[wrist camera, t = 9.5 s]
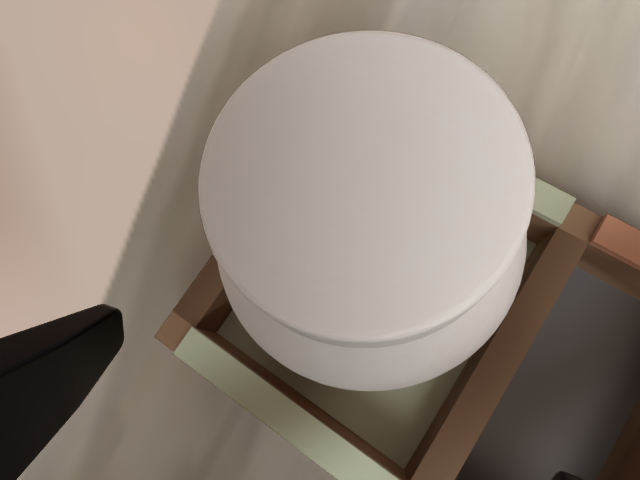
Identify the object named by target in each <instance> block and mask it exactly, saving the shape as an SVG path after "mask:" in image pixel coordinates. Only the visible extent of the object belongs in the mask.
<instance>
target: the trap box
mask: <svg viewBox="0 0 640 480" xmlns="http://www.w3.org/2000/svg"><path fill="white" fill-rule="evenodd" d="M576 199H577V198H575V197H573V196H571V195H569V194H567V193H565V192H563V191H561V190H559V189H557V188H555V187H553V186H551V185H550V184H548V183H546V182H544V181H542V180H540V179H538V178H536V177H535V197H534V205H533V211H532V215H531V219H530V224H529V227H528V229H527V251H526V259H525V265H524V270H523V275H522V279H521V283H520V286H519V288H518V291H517V293H516V296H515V299H514V301H513V303H512V305H511V307H510V309H509V311H508V313H507V315H506V316H505V318H504V319H503V321H502V322H501V324H500V325H499V327H498V328H497V330H496V331H495V332H494V333H493V335H492V336H491V337H490V338H489V339H488V340H487V341H486V343H485V344H484V345H483V346H481V347H480V348H479V349H478V350H477V351H476V352H475V353H474V354H473V355H471V356H470V357H469V358H467V359H466V360H465V361H463V362H462V363H461V364H459V365H458V366H456V367H454V368H452V369H451V370H449V371H447V372H445V373H443V374H441V375H439V376H437V377H435V378H433V379H430V380H428V381H425V382H422V383H419V384H416V385H413V386H409V387H405V388H400V389H394V390H387V391H356V390H346V389H341V388H336V387H332V386H328V385H324V384H321V383H318V382H316V381H313V380H311V379H308V378H306V377H303V376H301V375H299V374H297V373H295V372H293V371H292V370H290V369H289V368H287V367H285V366H284V365H282V364H281V363H280V362H278V361H277V360H276V359H274V358H273V357H272V356H270V355H269V354H268V353H267V352H266V351H265V350H263V349H262V348H261V347H260V346H259V345H258V344H257V343H256V342H255V340H254V339H253V338H252V337H251V336H250V335H249V333H248V332H247V331H246V329H245V328H244V327H243V325H242V324H241V322H240V321H239V319H238V317H237V316H236V314H235V312H234V310H233V309H232V307H231V304H230V302H229V300H228V297H227V295H226V292H225V289H224V286H223V283H222V280H221V277H220V272H219V268H218V262H217V260H216V259H215V257H214V255H212V257H211V258H210V259H209V261H208V262H207V264H206V265H205V266H204V268H203V269H202V271H201V272H200V273H199V275H198V276H197V277H196V279H195V280H194V282H193V283H192V284H191V286H190V287H189V289H188V290H187V291H186V293H185V294H184V296H183V297H182V298H181V300H180V301H179V303H178V304H177V305H176V307H175V308H174V310H173V311H172V312H171V314H170V315H169V316H168V318H167V319H166V321H165V322H164V323H163V325H162V326H161V328H160V329H159V330H158V332H157V333H156V335H155V336H154V337H155V338H157V339H158V340H159V341H161V342H162V343H163V344H165V345H166V346H167V347H169V348H170V349H171V350H172V351H174V353H173V354H174V355H175V356H177V357H178V358H179V359H181V360H182V361H183V362H185V363H186V364H187V365H188V366H190V367H191V368H192V369H194V370H195V371H196V372H198V373H199V374H200V375H202V376H203V377H204V378H205V379H207V380H208V381H209V382H211V383H212V384H213V385H215V386H216V387H217V388H218V389H220V390H221V391H222V392H224V393H225V394H226V395H228V396H229V397H230V398H232V399H233V400H234V401H235V402H237V403H238V404H239V405H241V406H242V407H243V408H245V409H246V410H247V411H248V412H250V413H251V414H252V415H254V416H255V417H256V418H258V419H259V420H260V421H262V422H263V423H264V424H265V425H267V426H268V427H269V428H271V429H272V430H273V431H275V432H276V433H277V434H278V435H280V436H281V437H282V438H284V439H285V440H286V441H288V442H289V443H290V444H292V445H293V446H294V447H295V448H297V449H298V450H299V451H301V452H302V453H303V454H305V455H306V456H307V457H309V458H310V459H311V460H312V461H314V462H315V463H316V464H318V465H319V466H320V467H322V468H323V469H324V470H325V471H327V472H328V473H329V474H331V475H332V476H333V477H335V478H336V479H337V480H552V478H553V477H554V475H555V474H556V473H557V472H559V471H564V472H567V473H570V474H573V475H575V476H578V477H581V478H582V479H584V480H640V230H638V229H636V228H634V227H632V226H630V225H628V224H626V223H624V222H622V221H620V220H618V219H616V218H614V217H612V216H610V215H606V216H605V217H602V216H600V215H598V214H596V213H594V212H592V211H590V210H588V209H586V208H584V207H582V206H580V205H578V204H576V203H575V200H576Z"/></svg>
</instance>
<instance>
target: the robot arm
mask: <svg viewBox="0 0 640 480" xmlns="http://www.w3.org/2000/svg"><path fill="white" fill-rule="evenodd" d="M123 341H124V330H123V320H122V313H121V311H120V310H119V309H117V308H114V307H111V306H109V305H106V304H100V305H97V306H94V307H91V308H88V309H85V310H82V311H79V312H76V313H73V314H70V315H67V316H65V317H62V318H59V319H56V320H53V321H50V322H47V323H44V324H41V325H38V326H35V327H32V328H29V329H26V330H24V331H20V332H17V333H15V334H12V335H9V336H6V337H3V338H0V480H17V478H18V477H19V476H20V475H21V474H22V473H23V471H24V470H25V469H26V468H27V467H28V466H29V464H30V463H31V462H32V461H33V460H34V459H35V458H36V456H37V455H38V454H39V453H40V452H41V451H42V449H43V448H44V447H45V446H46V445H47V444H48V442H49V441H50V440H51V439H52V438H53V437H54V436H55V434H56V433H57V432H58V431H59V430H60V429H61V427H62V426H63V425H64V424H65V423H66V422H67V420H68V419H69V418H70V417H71V416H72V415H73V413H74V412H75V411H76V410H77V409H78V407H79V406H80V405H81V403H82V402H83V401H84V399H85V398H86V397H87V395H88V394H89V392H90V391H91V390H92V388H93V387H94V385H95V384H96V382H97V381H98V380H99V378H100V377H101V375H102V374H103V373H104V371H105V370H106V368H107V367H108V365H109V364H110V363H111V361H112V360H113V358H114V357H115V356H116V354H117V353H118V351H119V350H120V348H121V346H122V344H123ZM552 480H584V479H582V478H581V477H578V476H575V475H573V474H570V473H567V472H564V471H559V472H557V473H556V474H555V475H554V477H553V478H552Z"/></svg>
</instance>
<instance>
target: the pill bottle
mask: <svg viewBox="0 0 640 480" xmlns="http://www.w3.org/2000/svg"><path fill="white" fill-rule="evenodd" d="M198 195H199V207H200V214H201V219H202V224H203V227H204V231H205V234H206V237H207V240H208V242H209V245H210V248H211V250H212V253H213V255H214V257H215V259H216V260H217V262H218V268H219V272H220V277H221V280H222V283H223V286H224V289H225V292H226V295H227V297H228V300H229V302H230V304H231V307H232V309H233V310H234V312H235V314H236V316H237V317H238V319H239V321H240V322H241V324H242V325H243V327H244V328H245V329H246V331H247V332H248V333H249V335H250V336H251V337H252V338H253V339H254V340H255V342H256V343H257V344H258V345H259V346H260V347H261V348H262V349H263V350H265V351H266V352H267V353H268V354H269V355H270V356H272V357H273V358H274V359H276V360H277V361H278V362H280V363H281V364H282V365H284V366H285V367H287V368H289V369H290V370H292V371H293V372H295V373H297V374H299V375H301V376H303V377H306V378H308V379H311V380H313V381H316V382H318V383H321V384H324V385H328V386H332V387H336V388H341V389H346V390H356V391H387V390H394V389H400V388H405V387H409V386H413V385H416V384H419V383H422V382H425V381H428V380H430V379H433V378H435V377H437V376H439V375H441V374H443V373H445V372H447V371H449V370H451V369H452V368H454V367H456V366H458V365H459V364H461V363H462V362H463V361H465V360H466V359H467V358H469V357H470V356H471V355H473V354H474V353H475V352H476V351H477V350H478V349H479V348H480V347H481V346H483V345H484V344H485V343H486V341H487V340H488V339H489V338H490V337H491V336H492V335H493V333H494V332H495V331H496V330H497V328H498V327H499V325H500V324H501V322H502V321H503V319H504V318H505V316H506V315H507V313H508V311H509V309H510V307H511V305H512V303H513V301H514V299H515V296H516V293H517V291H518V288H519V286H520V283H521V279H522V275H523V270H524V265H525V259H526V251H527V229H528V227H529V224H530V219H531V215H532V211H533V205H534V197H535V166H534V158H533V153H532V149H531V145H530V141H529V138H528V135H527V133H526V130H525V127H524V125H523V123H522V120H521V118H520V116H519V114H518V112H517V110H516V109H515V107H514V106H513V104H512V103H511V101H510V100H509V99H508V97H507V96H506V94H505V93H504V91H503V90H502V89H501V87H500V86H499V85H498V84H497V83H496V82H495V81H494V80H493V79H492V78H491V77H490V76H489V75H488V74H487V73H486V72H484V71H483V70H482V69H481V68H480V67H479V66H477V65H476V64H474V63H473V62H471V61H470V60H469V59H467V58H466V57H464V56H463V55H461V54H459V53H457V52H455V51H453V50H452V49H450V48H448V47H446V46H443V45H441V44H439V43H436V42H433V41H431V40H428V39H425V38H422V37H418V36H414V35H410V34H404V33H398V32H392V31H373V30H370V31H351V32H344V33H338V34H332V35H327V36H324V37H320V38H317V39H314V40H311V41H308V42H305V43H303V44H300V45H298V46H296V47H294V48H291V49H289V50H287V51H285V52H284V53H282V54H280V55H278V56H276V57H275V58H273V59H272V60H270V61H269V62H268V63H266V64H265V65H263V66H262V67H261V68H259V69H258V70H257V71H255V72H254V73H253V74H252V75H251V76H250V77H249V78H247V79H246V80H245V81H244V82H243V83H242V84H241V85H240V86H239V88H238V89H237V90H236V91H235V92H234V93H233V95H232V96H231V97H230V98H229V100H228V101H227V103H226V104H225V106H224V107H223V109H222V110H221V112H220V114H219V115H218V117H217V118H216V120H215V123H214V125H213V127H212V129H211V131H210V134H209V136H208V138H207V141H206V145H205V148H204V152H203V155H202V160H201V165H200V171H199V180H198Z"/></svg>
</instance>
